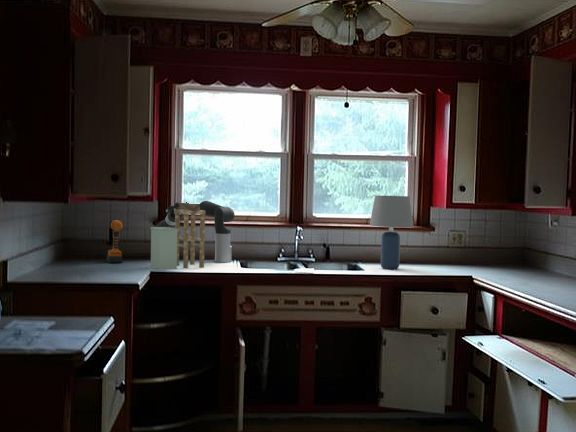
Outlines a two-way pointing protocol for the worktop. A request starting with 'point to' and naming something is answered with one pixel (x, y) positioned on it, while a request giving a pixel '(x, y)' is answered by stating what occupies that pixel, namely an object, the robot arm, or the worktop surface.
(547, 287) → the worktop surface
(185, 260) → the stool
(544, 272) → the worktop surface
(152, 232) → the pale green block
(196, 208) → the tan cardboard block
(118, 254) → the power drill
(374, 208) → the lamp
